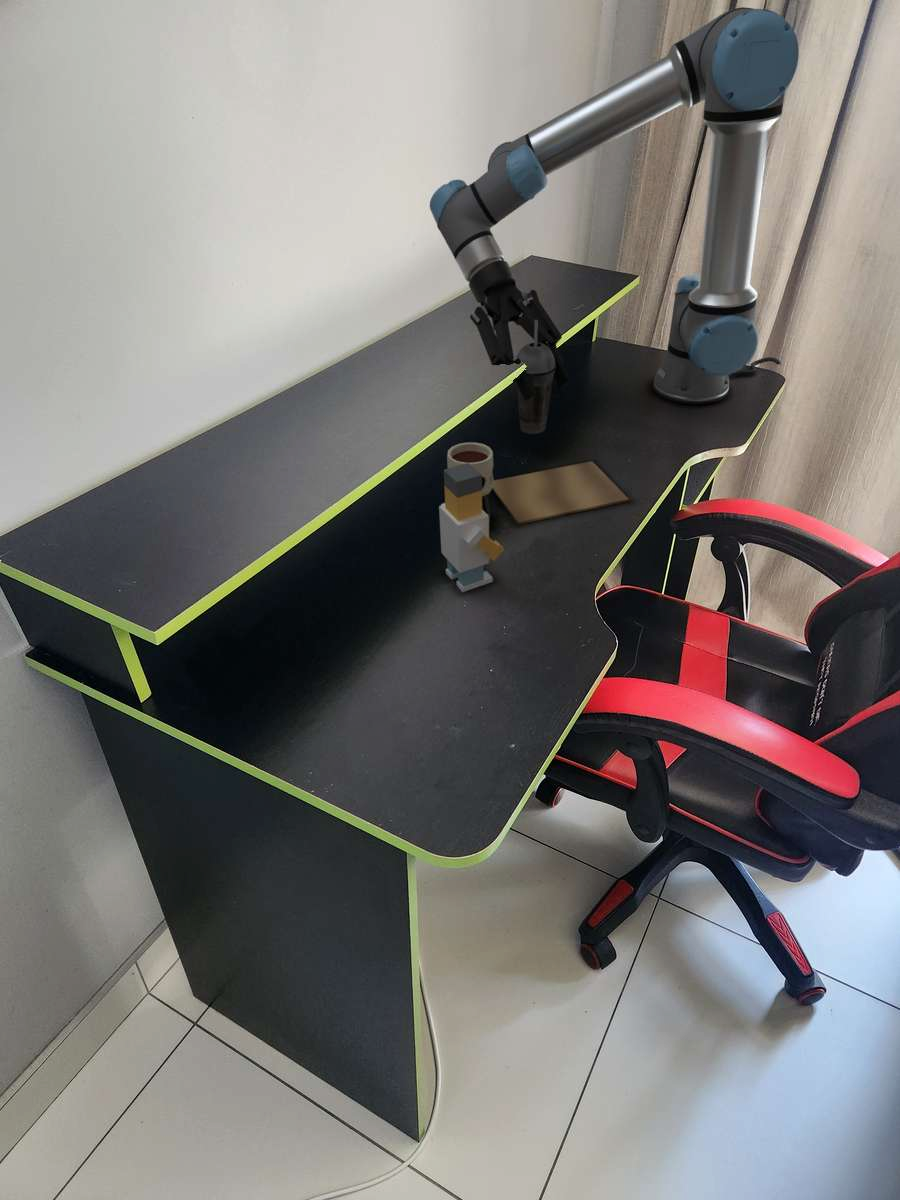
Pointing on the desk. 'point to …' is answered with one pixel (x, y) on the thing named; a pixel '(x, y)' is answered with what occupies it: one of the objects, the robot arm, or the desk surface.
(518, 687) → the desk surface
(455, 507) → the character figure
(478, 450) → the character mug
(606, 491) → the cork mat
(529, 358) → the beverage cup
